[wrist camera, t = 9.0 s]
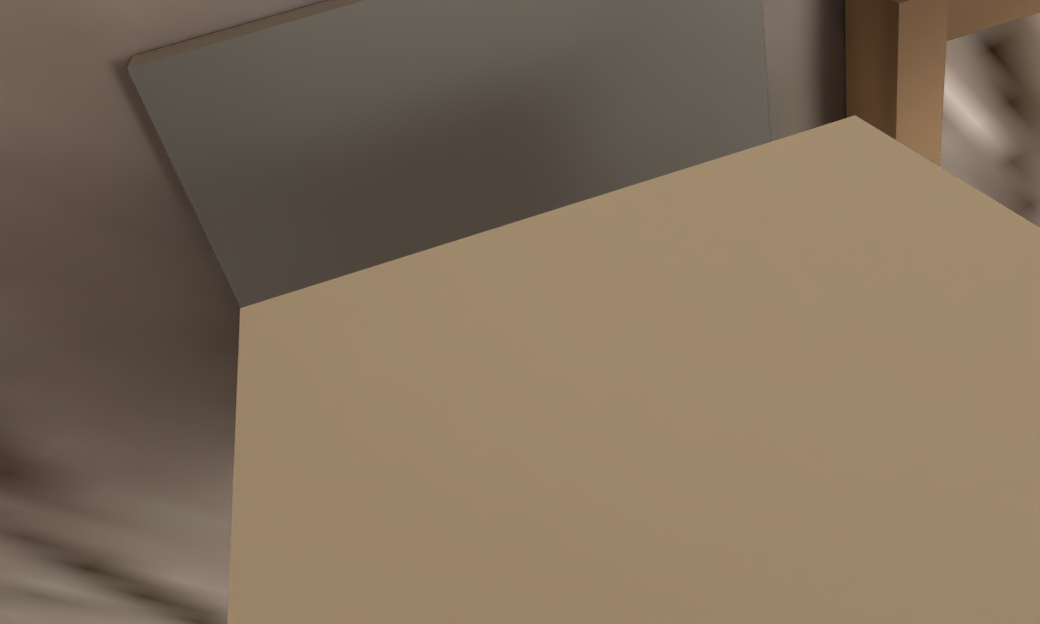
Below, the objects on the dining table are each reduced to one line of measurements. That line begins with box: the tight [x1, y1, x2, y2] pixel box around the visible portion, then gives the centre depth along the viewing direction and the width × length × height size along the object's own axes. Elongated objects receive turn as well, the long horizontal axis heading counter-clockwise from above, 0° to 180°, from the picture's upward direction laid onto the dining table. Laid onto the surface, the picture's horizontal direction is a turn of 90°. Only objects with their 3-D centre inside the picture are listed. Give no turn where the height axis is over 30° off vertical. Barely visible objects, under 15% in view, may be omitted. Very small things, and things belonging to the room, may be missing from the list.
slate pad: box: [127, 0, 771, 308], centre depth 15 cm, size 9×9×1 cm
